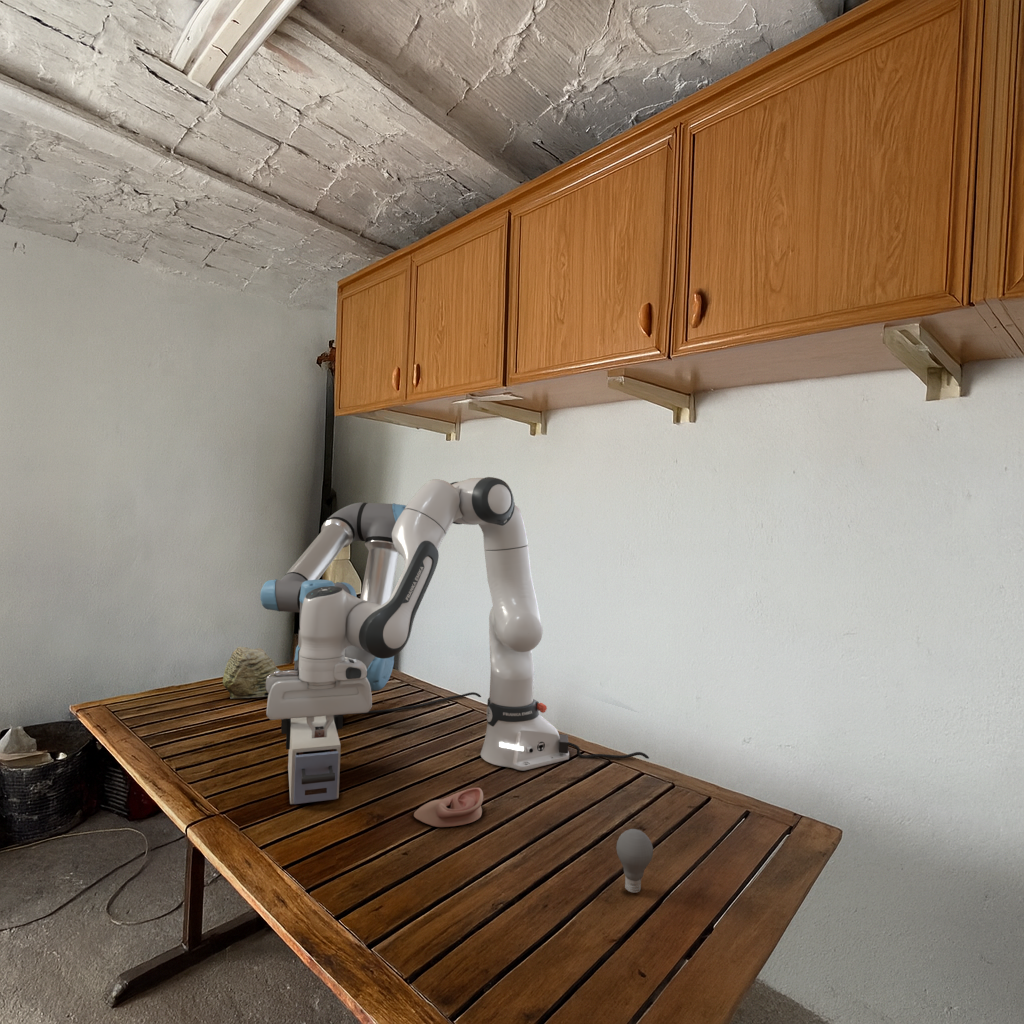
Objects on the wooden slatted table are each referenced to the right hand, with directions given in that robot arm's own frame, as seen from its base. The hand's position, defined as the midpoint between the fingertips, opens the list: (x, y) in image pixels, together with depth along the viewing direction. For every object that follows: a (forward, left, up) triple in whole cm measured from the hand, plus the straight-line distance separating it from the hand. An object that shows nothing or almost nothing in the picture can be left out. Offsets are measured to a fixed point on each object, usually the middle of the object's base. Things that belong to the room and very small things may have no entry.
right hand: (319, 736), depth 127 cm
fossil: (+9, -81, -15) cm, 83 cm away
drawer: (0, -9, -14) cm, 17 cm away
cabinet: (-1, -14, -15) cm, 21 cm away
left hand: (-1, -19, -9) cm, 21 cm away
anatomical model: (-25, +10, -15) cm, 31 cm away
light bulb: (-46, +44, -15) cm, 65 cm away
